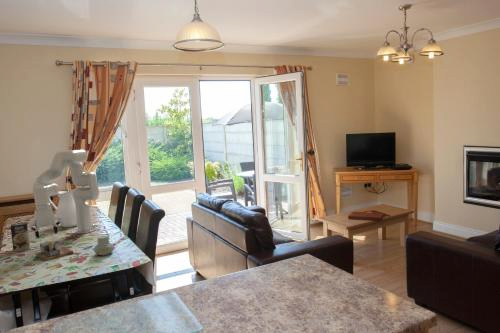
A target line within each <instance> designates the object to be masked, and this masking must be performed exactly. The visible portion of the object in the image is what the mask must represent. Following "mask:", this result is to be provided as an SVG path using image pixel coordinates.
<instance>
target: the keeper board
mask: <svg viewBox="0 0 500 333" xmlns="http://www.w3.org/2000/svg"><path fill="white" fill-rule="evenodd" d="M48 242H49V241H48ZM52 242H53V241H52ZM52 242H49V251H53V243H52ZM57 248H58V249H59V250H60V254H58V255H54V256H50V257H47V256H46V255H45V254H43V253H42V252H41V251H40V252H37V253H35V257H36V258H38V259H40V261H42V262H47V261H49V260H54V259H58V258H62V257H66V256H69V255H73V254H74V250H72V249H70V248H68V247H66V246H60V247H57Z"/></svg>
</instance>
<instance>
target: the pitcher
mask: <svg viewBox="0 0 500 333" xmlns="http://www.w3.org/2000/svg"><path fill="white" fill-rule="evenodd" d="M76 188H77V187H75V188H74V189H76ZM74 189H70V190H68V191H67V190H59V192H58V194H56V195H57V196H58V198H59V201H58V203H57V204H58V205H57V206H56V205H55V204H54V202H52V200H51V196H49V200H50V203H53V206H52V208H54V210H55V215H56V217H58V218H61V221H60V224H59V225H60V226H61V228H62V227H63V228H72V227H76V226H77V217H76V208H75V202H74V199H73V195H72V193H73V190H74Z"/></svg>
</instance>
